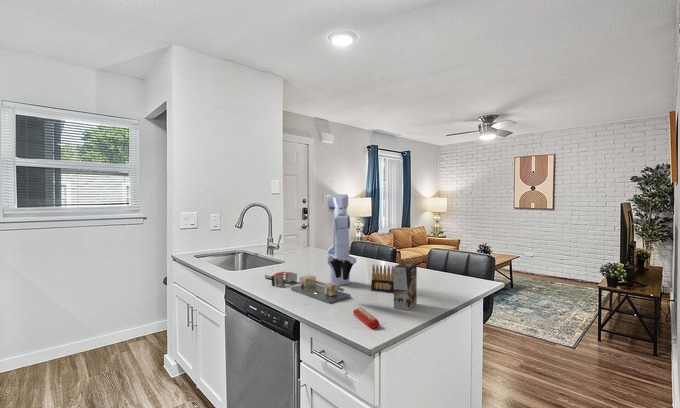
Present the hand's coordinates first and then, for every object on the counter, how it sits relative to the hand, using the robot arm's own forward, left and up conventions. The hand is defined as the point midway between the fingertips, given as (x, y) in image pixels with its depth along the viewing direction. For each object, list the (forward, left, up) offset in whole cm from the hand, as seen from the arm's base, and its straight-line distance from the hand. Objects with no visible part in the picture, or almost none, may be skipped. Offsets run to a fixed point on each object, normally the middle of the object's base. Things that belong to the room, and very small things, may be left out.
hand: (342, 278), depth 137 cm
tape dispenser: (+1, -45, -10) cm, 46 cm away
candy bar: (+8, +21, -10) cm, 25 cm away
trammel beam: (-1, -15, -8) cm, 17 cm away
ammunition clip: (-23, +2, -10) cm, 25 cm away
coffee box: (-14, +21, -10) cm, 27 cm away
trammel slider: (0, -7, -8) cm, 11 cm away
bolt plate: (0, -15, -9) cm, 18 cm away
